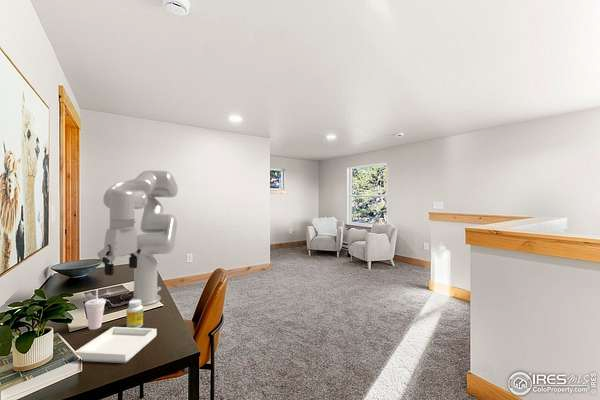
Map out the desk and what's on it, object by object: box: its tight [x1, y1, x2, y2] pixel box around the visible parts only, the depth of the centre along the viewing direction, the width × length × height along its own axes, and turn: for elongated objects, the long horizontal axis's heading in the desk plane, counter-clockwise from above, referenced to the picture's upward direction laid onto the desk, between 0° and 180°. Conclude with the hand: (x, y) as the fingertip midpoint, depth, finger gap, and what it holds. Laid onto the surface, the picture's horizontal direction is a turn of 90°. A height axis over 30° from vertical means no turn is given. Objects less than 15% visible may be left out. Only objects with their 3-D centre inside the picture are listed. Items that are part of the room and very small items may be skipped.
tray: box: [74, 326, 158, 364], centre depth 89 cm, size 16×16×2 cm
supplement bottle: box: [126, 299, 144, 328], centre depth 103 cm, size 5×5×10 cm
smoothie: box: [84, 289, 107, 331], centre depth 102 cm, size 6×6×14 cm
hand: (121, 271), depth 99 cm, fingers open, 9 cm apart
